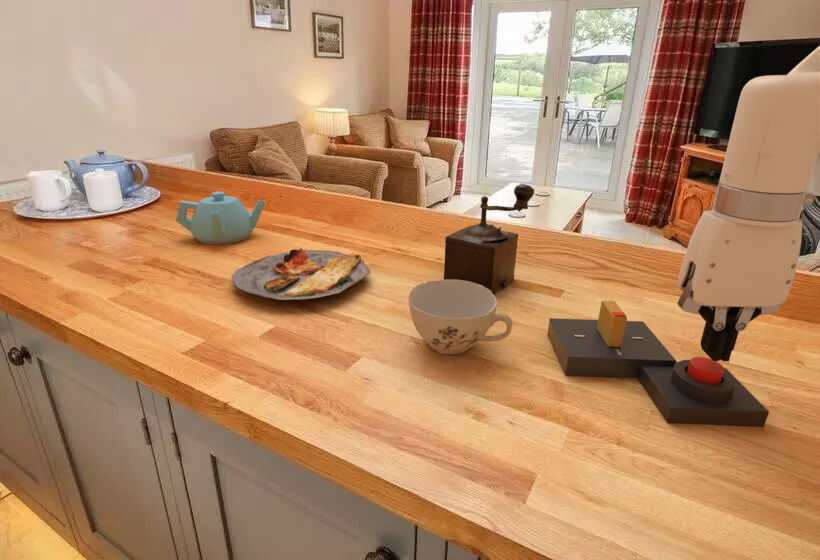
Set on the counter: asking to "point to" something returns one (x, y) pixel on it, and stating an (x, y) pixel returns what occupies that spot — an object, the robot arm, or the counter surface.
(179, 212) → the teapot
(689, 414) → the button block
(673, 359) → the panel
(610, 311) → the red-tipped wooden block
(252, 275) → the food plate
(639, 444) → the counter surface
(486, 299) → the teacup
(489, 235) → the manual coffee grinder
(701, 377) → the button
